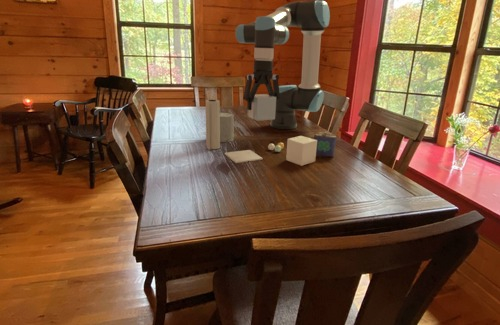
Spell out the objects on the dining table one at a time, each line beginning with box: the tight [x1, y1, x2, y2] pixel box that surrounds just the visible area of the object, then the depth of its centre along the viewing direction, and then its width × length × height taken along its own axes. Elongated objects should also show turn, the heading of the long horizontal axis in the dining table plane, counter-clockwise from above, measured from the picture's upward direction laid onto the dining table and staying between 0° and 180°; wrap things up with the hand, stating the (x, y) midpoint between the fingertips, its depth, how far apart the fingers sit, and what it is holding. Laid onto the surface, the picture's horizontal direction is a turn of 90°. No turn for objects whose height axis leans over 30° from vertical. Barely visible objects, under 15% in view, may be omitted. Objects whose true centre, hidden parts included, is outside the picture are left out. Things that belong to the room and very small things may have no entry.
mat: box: [224, 149, 263, 164], centre depth 138 cm, size 12×12×1 cm
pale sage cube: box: [246, 93, 276, 122], centre depth 135 cm, size 8×8×9 cm
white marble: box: [267, 143, 276, 151], centre depth 147 cm, size 3×3×3 cm
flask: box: [313, 131, 337, 158], centre depth 140 cm, size 9×3×11 cm, turn 74°
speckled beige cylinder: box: [220, 112, 235, 143], centre depth 159 cm, size 10×10×12 cm
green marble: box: [274, 144, 282, 153], centre depth 145 cm, size 3×3×3 cm
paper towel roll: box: [205, 99, 221, 151], centre depth 144 cm, size 7×6×21 cm
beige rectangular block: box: [285, 135, 317, 167], centre depth 134 cm, size 8×8×9 cm
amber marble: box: [277, 141, 285, 150], centre depth 149 cm, size 3×3×3 cm
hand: (260, 117), depth 136 cm, fingers closed on pale sage cube, 8 cm apart
